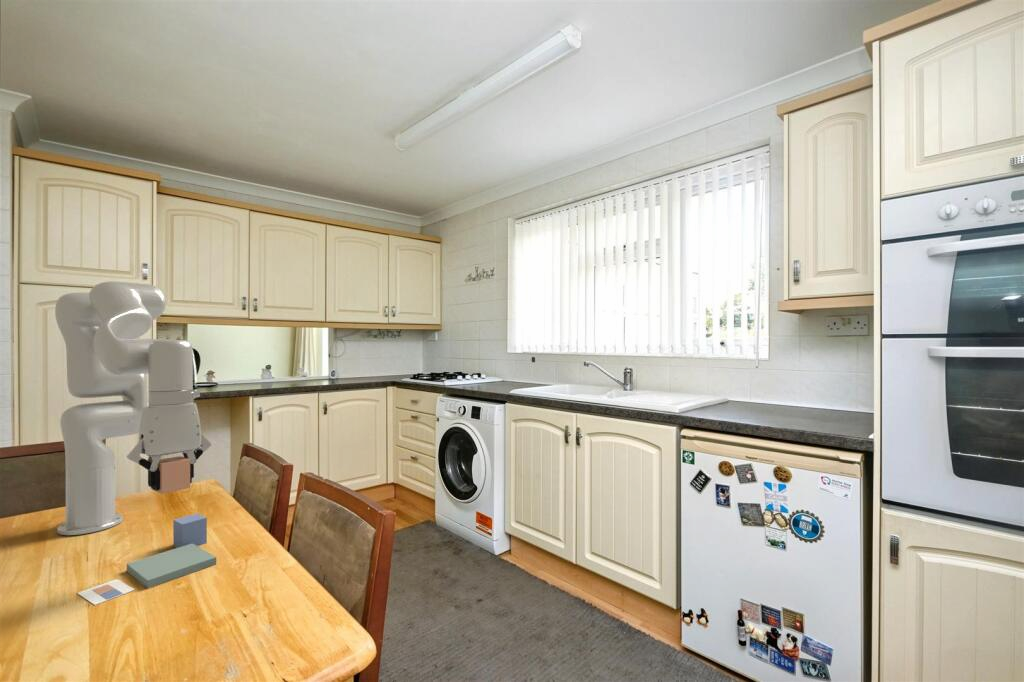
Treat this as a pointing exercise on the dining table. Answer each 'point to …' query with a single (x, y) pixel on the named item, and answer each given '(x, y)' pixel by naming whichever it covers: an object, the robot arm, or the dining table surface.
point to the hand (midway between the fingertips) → (171, 484)
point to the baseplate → (170, 565)
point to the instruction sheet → (105, 591)
